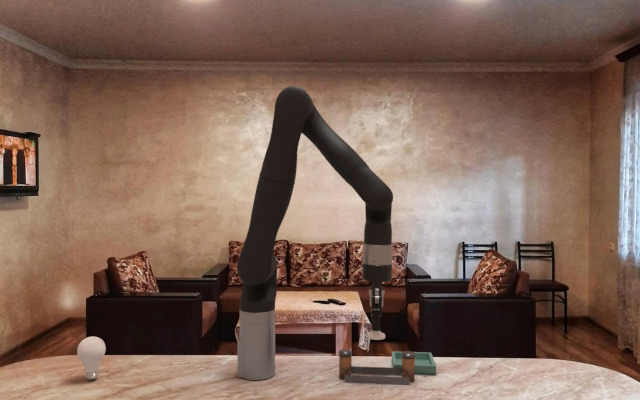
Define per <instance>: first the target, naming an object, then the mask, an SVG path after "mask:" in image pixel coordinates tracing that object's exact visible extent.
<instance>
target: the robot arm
mask: <svg viewBox="0 0 640 400" xmlns="http://www.w3.org/2000/svg"><path fill="white" fill-rule="evenodd" d="M301 135H303V136H305V137H306V138H307V139H308V140H309V141H310V142H311V143H312V145H314V146H315V147H316V148H317V150H318V151H319V152H320V154H321V155H322V156H323V157H324V159H325V160H326V162H327V163H328V164H329V165H330V166H331V167H332V169H334V171H335V172H336V173H337V174H338V176H340V177H341V178H342V180H344V181H345V182H346V183H347V184H348V185H349V186H351V188H352V189H353V190H354V191H355V193H357V195H358V196H359V198H360V199H361V200H362V201H363V202H364V205H365V224H364V229H363V231H364V232H363V248H362V265H361V266H362V270H361V271H362V272H361V274H362V277H361V278H362V280H363V281H365V282H370V283H372V284H371V285H370V286H368V295H369V307H371V309H370V315H371V330H372V331H380V332H381V319H382V318H381V317H382V314H383V312H382V308H383V307H384V296H385V291H386V290H385V286H382V284H383V283H389V282H390V281H392V279H393V247H392V246H393V244H392V243H393V241H392V240H393V230H392V229H393V228H392V211H393V210H392V207H393V201H394V194H393V191H392V189H391V188H390V186H389V185H387V184H386V182H384V181H383V180H382V179H381V178H380V177H379V176H378V175H377V174H376V173H375V172H374V171H373V170H372V169H371V168H370V166H369V165H368V164H367V162H366V161H365V160H364V159H363V158H362V157H361V155H359V154H358V153H357V151H356V150H355V149H354V148H353V147H352V146H351V145H350V144H348V142H346V141H345V140H344V139H343V138H342V137H341V136H340V135H339V134H338V133H336V131H335V130H334V129H333V128H332V127H331V126H330V125H329V124H328V123H327V122H326V120H325V119H324V118H323V116H322V115H321V113H320V112H319V111H318V109H317V107H316V106H315V104H314V102H313V99H312V97H311V96H310V95H309V93H308V92H307V91H306V90H305V89H304V88H302V87H300V86H296V85H289V86H287V87H285V88H284V89H282V90H281V91H280V92H279V94H278V95H277V97H276V100H275V104H274V111H273V119H272V126H271V132H270V138H269V142H268V145H267V147H266V151H265V154H264V158H263V162H262V165H261V170H260V171H259V172H260V173H259V177H258V179H257V184H256V189H255V193H254V198H253V204H252V208H251V214H250V221H249V226H248V230H247V234H246V237H245V239H244V242H243V245H242V249H241V251H240V253H239V257H238V260H237V263H236V271H237V275H238V277H239V279H240V280H241V281H242V285H241V286H242V289H241V294H240V297H239V337H238V340H237V343H236V344H237V347H236V348H237V349H236V350H237V355H236V356H237V378H242V379H245V380H248V381H262V380H267V379H271V378H272V377H274V376H275V374H276V298H277V294H278V293H277V291H278V290H277V286H278V285H277V284H278V283H277V282H278V281H277V280H278V264H277V263H278V262H277V257H276V256H275V254H274V251H275V245H276V240H277V235H278V233H279V230H280V227H281V225H282V223H283V221H284V218H285V217H286V214H287V211H288V208H289V207H290V203H291V200H292V196H293V191H294V187H295V185H296V184H295V183H296V177H297V168H298V167H297V166H298V152H299V151H298V150H299V145H300V140H301ZM374 309H379V310H374Z"/></svg>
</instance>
